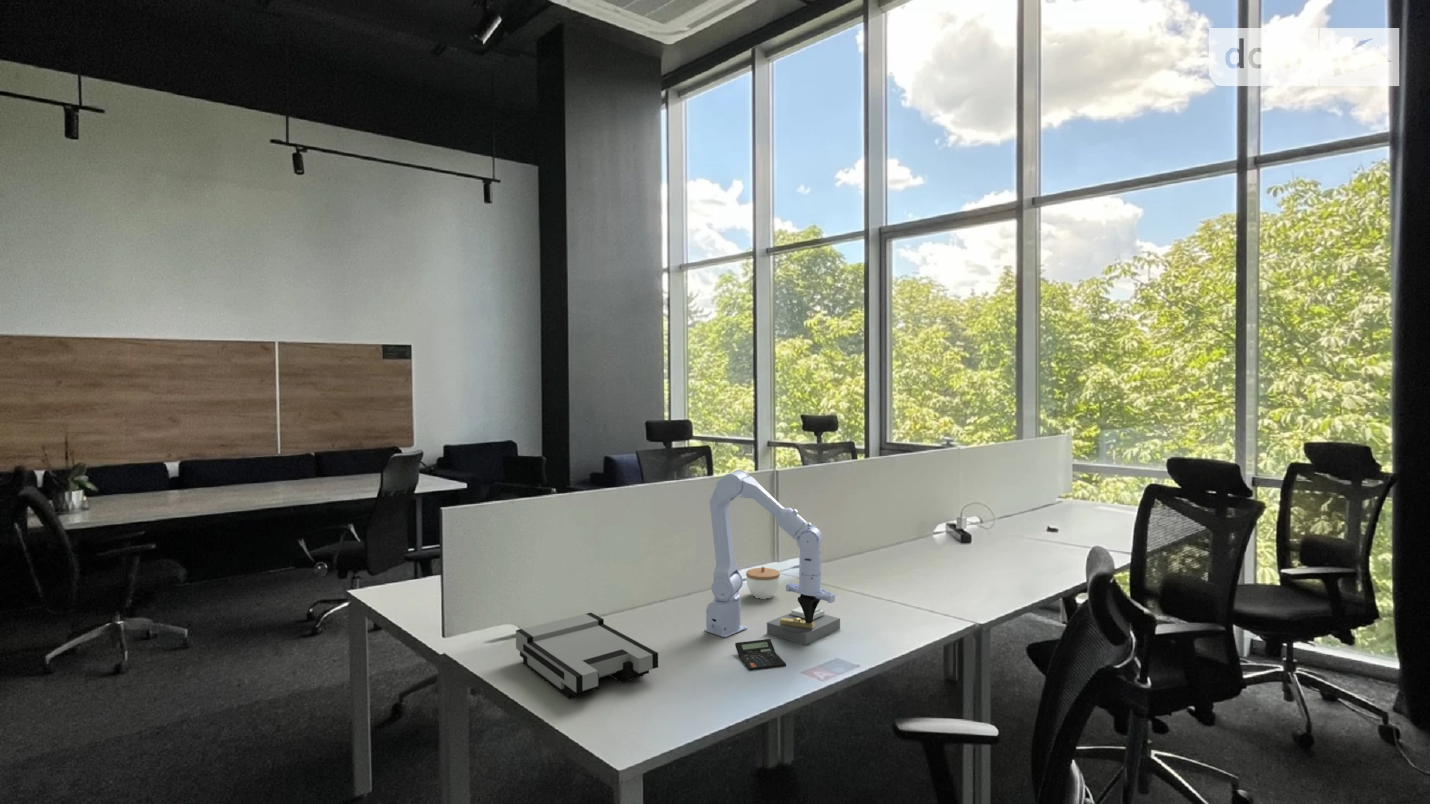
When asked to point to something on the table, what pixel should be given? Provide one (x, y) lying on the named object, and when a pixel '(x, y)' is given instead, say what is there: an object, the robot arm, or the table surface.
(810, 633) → the grey flat block
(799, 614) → the hatch cover
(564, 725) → the table surface
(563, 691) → the game console
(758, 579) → the lidded jar
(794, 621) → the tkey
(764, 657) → the calculator
